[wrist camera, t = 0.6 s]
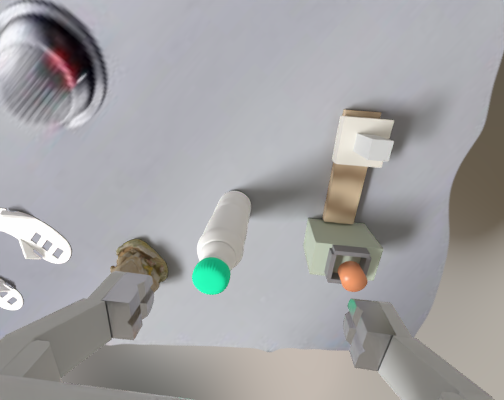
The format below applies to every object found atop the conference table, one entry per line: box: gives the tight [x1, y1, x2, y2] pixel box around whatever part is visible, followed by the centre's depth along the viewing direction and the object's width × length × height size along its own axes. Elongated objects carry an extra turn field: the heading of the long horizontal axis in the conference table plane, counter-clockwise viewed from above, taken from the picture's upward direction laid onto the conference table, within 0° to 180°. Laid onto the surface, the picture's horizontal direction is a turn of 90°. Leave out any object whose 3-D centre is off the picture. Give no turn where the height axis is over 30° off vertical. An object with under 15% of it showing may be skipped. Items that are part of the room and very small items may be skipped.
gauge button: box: [338, 261, 367, 292], centre depth 42 cm, size 4×4×3 cm
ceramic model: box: [110, 239, 168, 292], centre depth 57 cm, size 14×11×10 cm
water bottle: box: [192, 191, 251, 295], centre depth 43 cm, size 7×7×25 cm
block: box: [322, 110, 381, 224], centre depth 49 cm, size 22×6×2 cm, turn 176°
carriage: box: [332, 116, 394, 168], centre depth 41 cm, size 8×8×10 cm
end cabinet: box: [303, 218, 383, 284], centre depth 50 cm, size 7×12×12 cm, turn 86°
